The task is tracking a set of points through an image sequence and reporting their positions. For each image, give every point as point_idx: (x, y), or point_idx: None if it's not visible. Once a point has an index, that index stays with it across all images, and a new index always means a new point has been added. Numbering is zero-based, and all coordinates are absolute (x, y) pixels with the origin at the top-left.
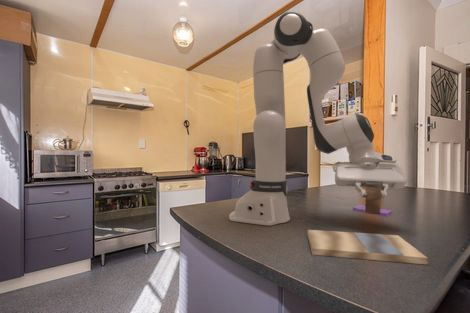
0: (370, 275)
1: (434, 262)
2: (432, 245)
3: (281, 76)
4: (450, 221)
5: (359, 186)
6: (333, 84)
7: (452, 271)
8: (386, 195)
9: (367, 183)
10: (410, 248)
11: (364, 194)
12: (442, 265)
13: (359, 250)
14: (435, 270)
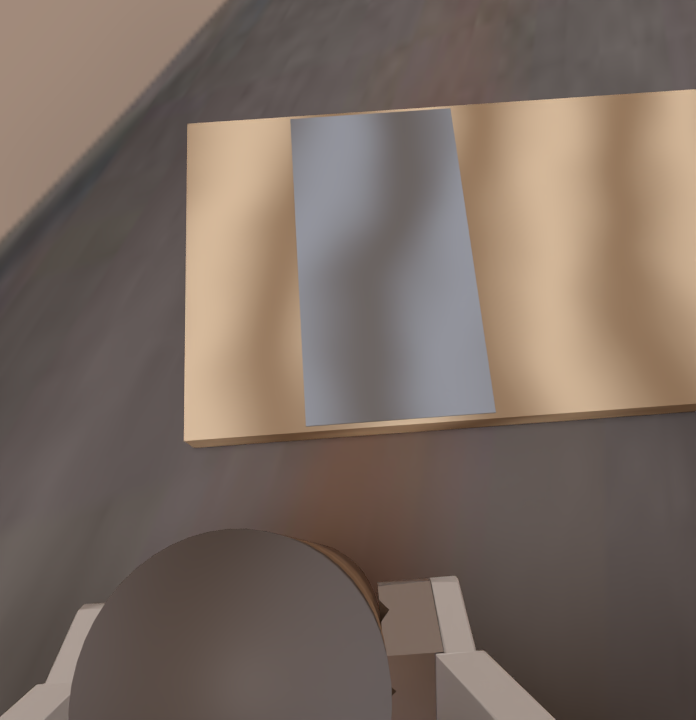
0: (469, 2)
1: (149, 179)
2: (8, 423)
3: None
4: None
5: (513, 707)
6: None
7: (126, 112)
8: (93, 604)
9: (376, 625)
10: (214, 218)
11: (418, 580)
12: (131, 158)
13: (494, 123)
14: (193, 103)
